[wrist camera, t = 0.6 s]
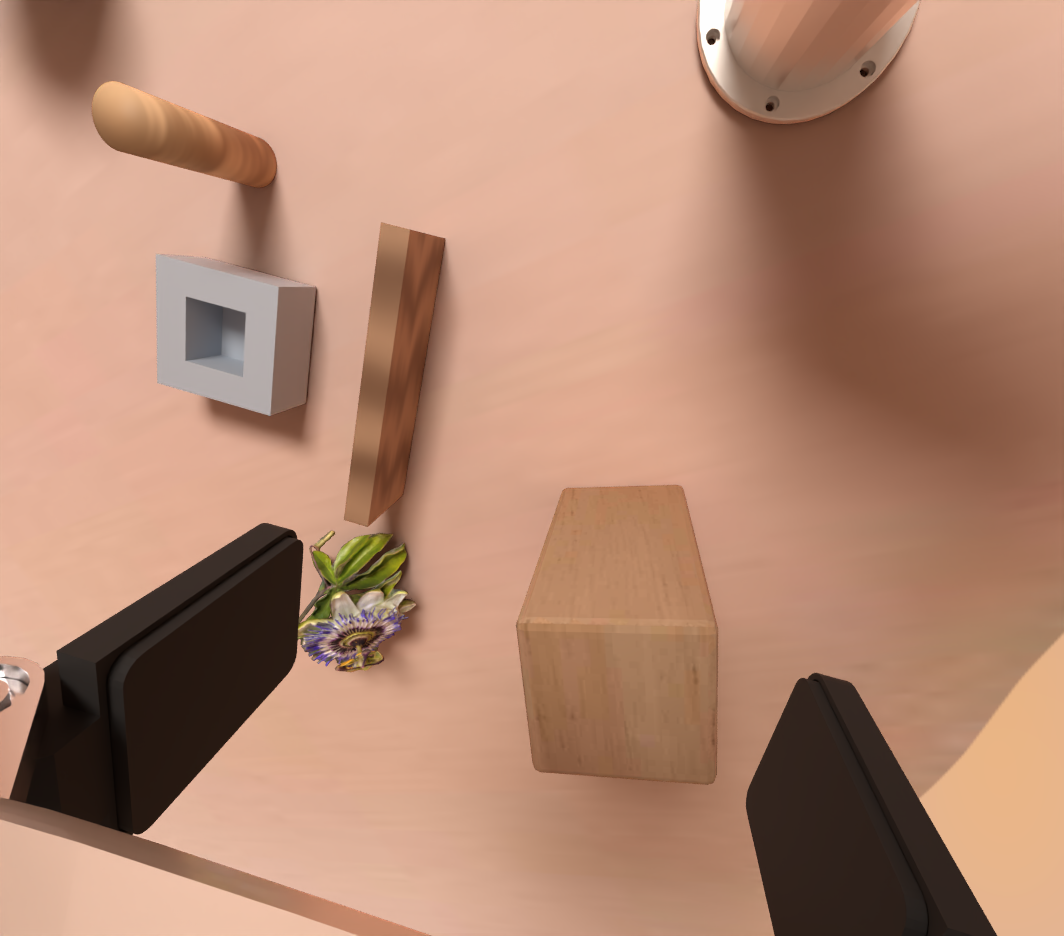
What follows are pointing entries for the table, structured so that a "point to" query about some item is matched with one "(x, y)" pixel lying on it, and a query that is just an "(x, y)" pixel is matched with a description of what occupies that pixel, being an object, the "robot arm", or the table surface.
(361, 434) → the walnut wall
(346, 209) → the table surface
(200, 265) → the socket block
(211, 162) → the oak dowel
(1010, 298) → the table surface
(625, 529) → the wooden block
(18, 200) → the table surface
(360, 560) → the passion flower
